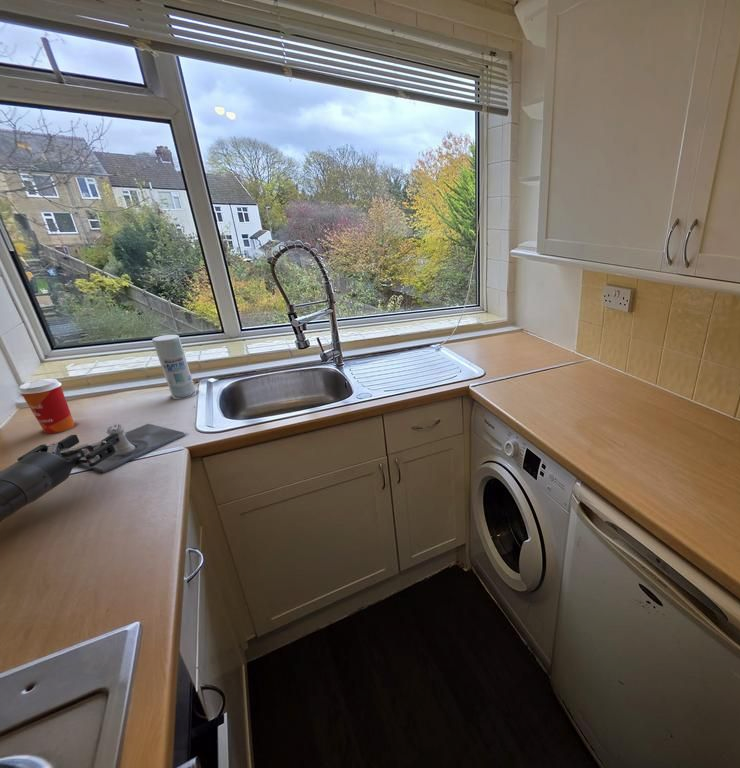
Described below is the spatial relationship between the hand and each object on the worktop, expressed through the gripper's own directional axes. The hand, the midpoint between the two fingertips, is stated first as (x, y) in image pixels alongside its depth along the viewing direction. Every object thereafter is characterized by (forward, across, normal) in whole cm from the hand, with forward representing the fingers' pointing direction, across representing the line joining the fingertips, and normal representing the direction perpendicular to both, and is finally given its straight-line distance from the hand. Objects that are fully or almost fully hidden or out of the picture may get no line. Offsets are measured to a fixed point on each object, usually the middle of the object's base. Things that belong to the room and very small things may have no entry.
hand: (96, 437), depth 93 cm
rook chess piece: (+5, 0, +8) cm, 9 cm away
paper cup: (+20, +26, +8) cm, 34 cm away
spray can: (+40, +6, +8) cm, 41 cm away
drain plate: (+8, +1, +8) cm, 11 cm away
